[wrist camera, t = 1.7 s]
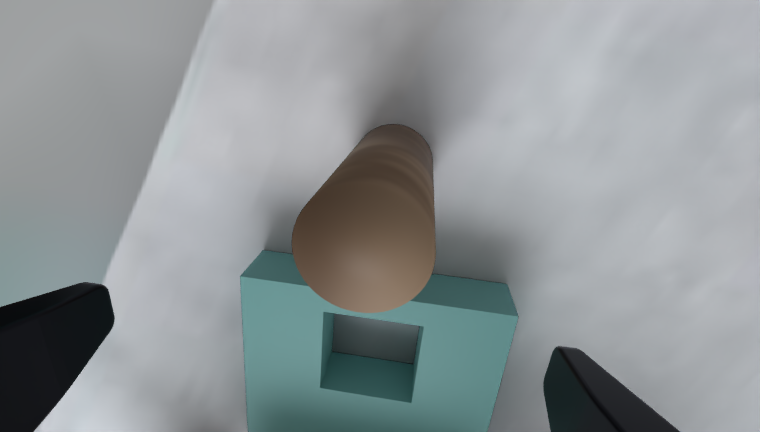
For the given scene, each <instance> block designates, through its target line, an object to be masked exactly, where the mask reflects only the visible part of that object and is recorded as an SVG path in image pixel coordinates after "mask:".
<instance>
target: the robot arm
mask: <svg viewBox="0 0 760 432" xmlns="http://www.w3.org/2000/svg"><path fill="white" fill-rule="evenodd" d="M114 319H115V318H114V312H113V308H112V303H111V299H110V295H109V291H108V289H107V288H106V286H104V285H102V284H95V283H88V282H83V283H79V284H76V285H72V286H69V287H66V288H62V289H59V290H56V291H52V292H49V293H46V294H42V295H39V296H36V297H32V298H29V299H26V300H22V301H19V302H16V303H12V304H9V305H6V306H2V307H0V432H34V430H35V429H36V428H37V427H38V426H39V425H40V423H41V422H42V421H43V420H44V419H45V418H46V416H47V415H48V414H49V413H50V412H51V411H52V409H53V408H54V407H55V406H56V404H57V403H58V402H59V401H60V400H61V398H62V397H63V396H64V395H65V393H66V392H67V391H68V389H69V388H70V387H71V385H72V384H73V382H74V381H75V380H76V378H77V377H78V375H79V374H80V373H81V371H82V370H83V368H84V367H85V366H86V364H87V363H88V361H89V360H90V359H91V357H92V356H93V354H94V353H95V352H96V350H97V349H98V348H99V346H100V345H101V343H102V342H103V341H104V339H105V338H106V336H107V335H108V334H109V332H110V331H111V329H112V327H113V325H114ZM543 387H544V396H545V401H546V407H547V413H548V418H549V424H550V430H551V432H680V431H679V430H677V429H676V428H675V427H674V426H672V425H671V424H670V423H669V422H668V421H666V420H665V419H664V418H663V417H662V416H660V415H659V414H658V413H657V412H655V411H654V410H653V409H652V408H651V407H649V406H648V405H647V404H646V403H644V402H643V401H642V400H641V399H640V398H638V397H637V396H636V395H635V394H634V393H632V392H631V391H630V390H629V389H627V388H626V387H625V386H624V385H623V384H621V383H620V382H619V381H618V380H617V379H615V378H614V377H613V376H612V375H610V374H609V373H608V372H607V371H606V370H604V369H603V368H602V367H601V366H599V365H598V364H597V363H596V362H595V361H593V360H592V359H591V358H590V357H589V356H587V355H586V354H585V353H584V352H582V351H581V350H579V349H577V348H570V347H562V346H558V347H556V348H555V349H554V350H553V353H552V356H551V359H550V362H549V365H548V368H547V371H546V374H545V378H544V386H543Z"/></svg>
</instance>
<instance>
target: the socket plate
mask: <svg viewBox="0 0 760 432" xmlns="http://www.w3.org/2000/svg"><path fill="white" fill-rule="evenodd" d="M240 285H241V305H242V325H243V345H244V365H245V385H246V405H247V425H248V432H487V431H488V427H489V424H490V420H491V416H492V413H493V409H494V405H495V402H496V398H497V394H498V390H499V387H500V383H501V379H502V376H503V372H504V368H505V365H506V361H507V357H508V354H509V350H510V346H511V342H512V339H513V335H514V331H515V328H516V324H517V320H518V314H517V311H516V308H515V305H514V302H513V299H512V297H511V294H510V291H509V288H508V285H507V284H503V283H496V282H489V281H482V280H474V279H467V278H460V277H453V276H446V275H438V274H431V276H430V279H429V280H428V282H427V284H426V285H425V287H424V288H423V289H422V290H421V292H420V293H419V294H418V295H416V296H415V297H414V298H413V299H412V300H410V301H409V302H407V303H406V304H404V305H402V306H400V307H397V308H395V309H392V310H388V311H385V312H378V313H360V312H354V311H349V310H346V309H343V308H340V307H337V306H335V305H333V304H331V303H329V302H328V301H326V300H324V299H323V298H322V297H320V296H319V295H317V294H316V293H315V292H314V291H313V290H312V289H311V288H310V287H309V286H308V284H307V283H306V282H305V281H304V279H303V278H302V276H301V275H300V272H299V270H298V268H297V266H296V263H295V260H294V257H293V254H287V253H280V252H273V251H266V250H263V251H262V252H261V253H260V254H259V255H258V257H257V258H256V259H255V260H254V261H253V262H252V263H251V264H250V266H249V267H248V268H247V269H246V270H245V271H244V272H243V274H242V275H241V276H240ZM334 313H336V314H342V315H349V316H356V317H362V318H369V319H376V320H383V321H389V322H396V323H403V324H409V325H416V326H420V327H419V333H418V339H417V346H416V352H415V358H414V364H407V363H401V362H394V361H388V360H382V359H375V358H369V357H362V356H356V355H350V354H343V353H337V352H332V346H333V328H334Z"/></svg>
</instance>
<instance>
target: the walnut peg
mask: <svg viewBox="0 0 760 432" xmlns="http://www.w3.org/2000/svg"><path fill="white" fill-rule="evenodd" d="M292 252H293V257H294V260H295V263H296V266H297V268H298V270H299V272H300V275H301V276H302V278H303V279H304V281H305V282H306V283H307V284H308V286H309V287H310V288H311V289H312V290H313V291H314V292H315V293H316V294H317V295H319V296H320V297H322V298H323V299H324V300H326V301H328V302H329V303H331V304H333V305H335V306H337V307H340V308H343V309H346V310H349V311H354V312H360V313H378V312H385V311H388V310H392V309H395V308H397V307H400V306H402V305H404V304H406V303H407V302H409V301H410V300H412V299H413V298H414V297H415V296H416V295H418V294H419V293H420V292H421V290H422V289H423V288H424V287H425V285H426V284H427V282H428V280H429V279H430V276H431V274H432V271H433V268H434V264H435V257H436V245H435V215H434V186H433V159H432V154H431V151H430V148H429V146H428V144H427V142H426V141H425V139H424V138H423V137H422V136H421V135H420V134H419V133H417V132H416V131H415V130H413V129H411V128H409V127H406V126H403V125H398V124H388V125H383V126H380V127H377V128H375V129H373V130H372V131H370V132H369V133H368V134H367V135H366V136H365V137H364V138H363V139H362V140H361V141H360V142H359V144H358V145H357V146H356V147H355V148H354V149H353V151H352V152H351V153H350V154H349V155H348V156H347V158H346V159H345V160H344V161H343V162H342V163H341V165H340V166H339V167H338V168H337V169H336V170H335V171H334V173H333V174H332V175H331V176H330V177H329V178H328V180H327V181H326V182H325V183H324V184H323V185H322V187H321V188H320V189H319V190H318V191H317V192H316V194H315V195H314V196H313V197H312V198H311V199H310V201H309V202H308V203H307V204H306V205H305V207H304V208H303V209H302V211H301V212H300V214H299V216H298V218H297V220H296V223H295V225H294V229H293V234H292Z"/></svg>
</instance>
